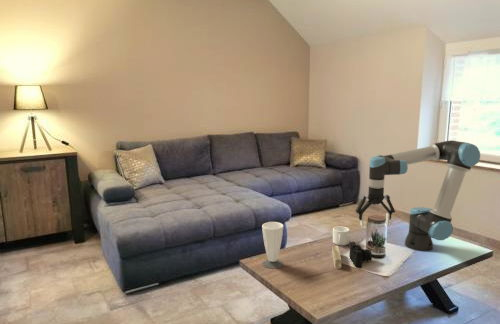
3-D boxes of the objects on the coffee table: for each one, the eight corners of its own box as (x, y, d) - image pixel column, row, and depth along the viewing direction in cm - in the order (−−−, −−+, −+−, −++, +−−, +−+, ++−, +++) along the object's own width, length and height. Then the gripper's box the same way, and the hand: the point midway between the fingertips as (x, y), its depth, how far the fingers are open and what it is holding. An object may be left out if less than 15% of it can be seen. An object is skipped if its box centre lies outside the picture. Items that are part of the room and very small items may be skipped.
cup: (287, 263, 200) (288, 224, 196) (274, 270, 191) (274, 230, 187) (271, 257, 207) (271, 220, 203) (257, 264, 199) (257, 225, 195)
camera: (374, 268, 193) (375, 250, 191) (354, 268, 193) (354, 250, 191) (367, 256, 207) (367, 239, 205) (347, 256, 207) (348, 239, 205)
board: (337, 254, 210) (337, 245, 209) (341, 268, 193) (341, 259, 192) (332, 253, 211) (332, 245, 210) (335, 268, 193) (335, 259, 192)
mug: (348, 249, 217) (349, 234, 215) (330, 246, 221) (331, 232, 219) (350, 241, 228) (351, 227, 226) (333, 239, 232) (334, 225, 230)
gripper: (397, 184, 198) (395, 222, 202) (350, 185, 198) (349, 223, 202) (403, 187, 191) (400, 227, 194) (354, 188, 190) (353, 228, 194)
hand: (374, 225), depth 198 cm, fingers open, 13 cm apart
